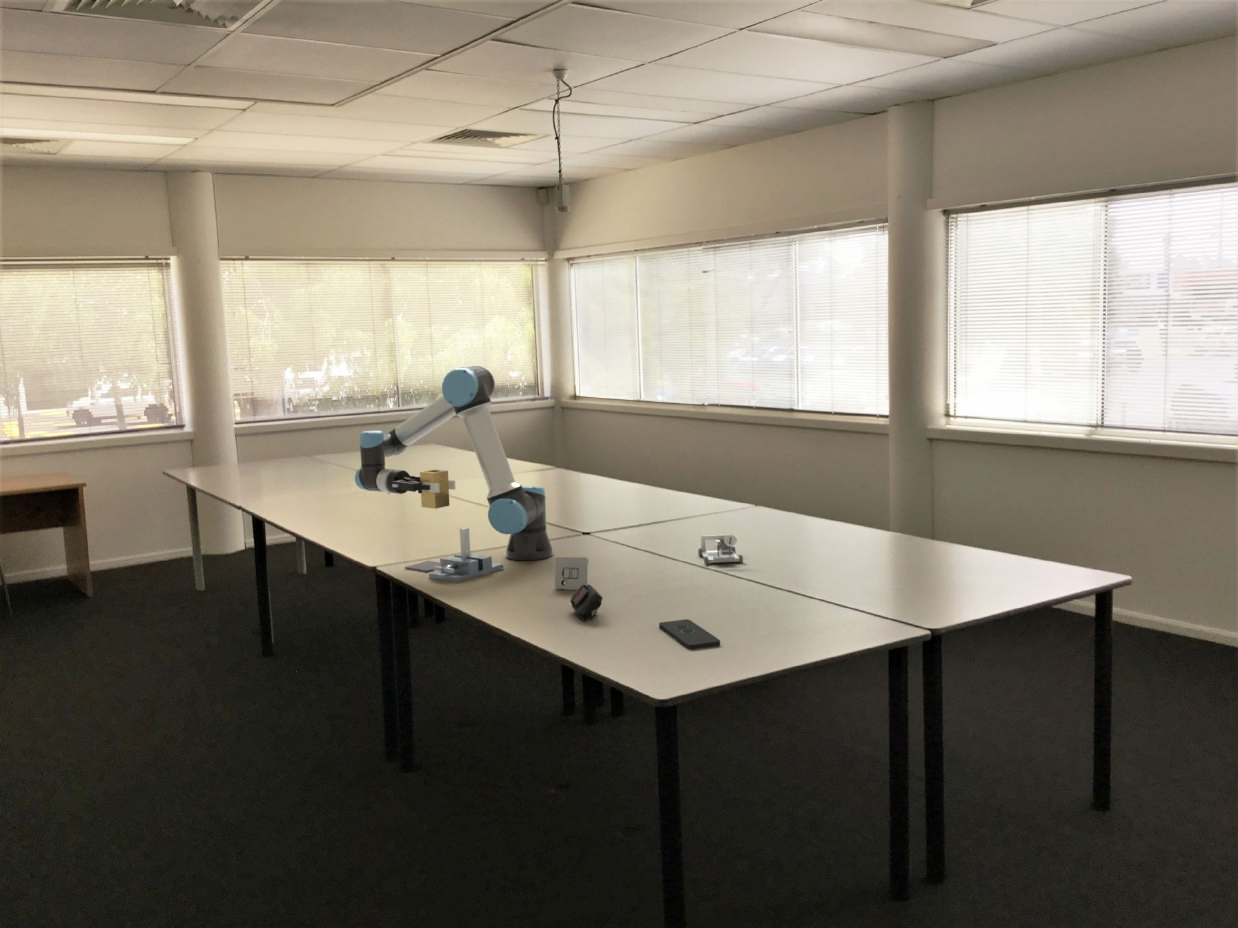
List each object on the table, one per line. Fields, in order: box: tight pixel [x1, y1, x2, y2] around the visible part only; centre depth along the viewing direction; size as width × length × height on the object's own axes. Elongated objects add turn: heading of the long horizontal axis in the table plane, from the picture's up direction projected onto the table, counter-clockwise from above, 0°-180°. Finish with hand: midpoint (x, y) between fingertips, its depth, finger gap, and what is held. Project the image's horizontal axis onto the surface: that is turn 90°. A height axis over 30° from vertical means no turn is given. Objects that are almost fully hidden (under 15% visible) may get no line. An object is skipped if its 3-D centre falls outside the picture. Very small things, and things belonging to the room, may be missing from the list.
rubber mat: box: [404, 560, 441, 573], centre depth 328 cm, size 10×10×1 cm
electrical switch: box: [554, 556, 589, 591], centre depth 296 cm, size 9×5×9 cm, turn 78°
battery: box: [570, 584, 603, 621], centre depth 267 cm, size 12×8×7 cm
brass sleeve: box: [419, 469, 450, 510], centre depth 321 cm, size 6×6×11 cm
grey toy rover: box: [697, 533, 744, 566], centre depth 325 cm, size 18×10×12 cm
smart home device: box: [658, 618, 721, 651], centre depth 247 cm, size 8×2×20 cm
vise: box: [428, 527, 504, 584], centre depth 317 cm, size 20×12×14 cm, turn 144°
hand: (446, 486), depth 318 cm, fingers closed on brass sleeve, 6 cm apart
